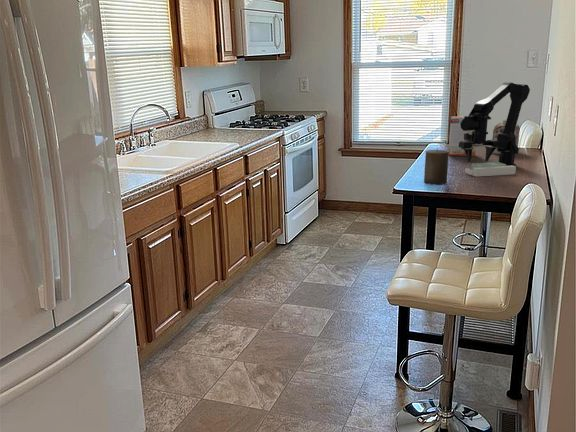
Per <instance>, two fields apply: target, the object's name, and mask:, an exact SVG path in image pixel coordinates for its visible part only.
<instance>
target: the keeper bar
mask: <svg viewBox="0 0 576 432" xmlns="http://www.w3.org/2000/svg"><path fill="white" fill-rule="evenodd" d="M495 166H506V164H503V163H500V162H499V161H495V162H494V161H493V162H475V163H471V168H470V169H471V170H473V168H477V167H495Z"/></svg>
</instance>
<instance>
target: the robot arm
mask: <svg viewBox="0 0 576 432" xmlns="http://www.w3.org/2000/svg"><path fill="white" fill-rule="evenodd" d="M530 89H531V88H530V86H529V85H528V84H524V83H523V84H520V83H519V84H518V83H514V82H508V81H506V82H503V83H502V84H501V85H500V87H498V88H497V89H495V91H493V93H491V94H490V95H489V96H488V97H485V98H484V99H480V100H478V101H477V102H476V103H474V105H473V107H472V109H471V111H470V112H469V114H468V115H463V116H464V119H463V120H462V121H461V124H460V125H461V129H462V130H463V131H469V130H474V131H473V132H472V134H471V135H469V133H465V134H464V140H467V141H460V142H459V147H461V149H463V150H464V151H465V153H466V156H465V157H466V159H467V162H468V163H471V161H472V156H471V155H472V149H471V147H472V146H476V147H483V146H484V147H485V157H484V158H485V160H484V161H485V163H488V161H489V160H490V157H491V156H492V153H493V152H494V150H495V149H498V152H500V154H498V155H499V157H498V162H500V163H503V164H506V166H516V163H515V159H516V156H515V155H517V154H518V153H519V151H520V148H519V146H518V147H517V145H516V144H515V142H516V137H515V134H514V132H515V128H516V124H517V123H518V121H519V120H518V119H519V116H520V113H521V109H522V105H523V104H524V103H525V101H526V100H527V99H528V97H529V94H530V91H531V90H530ZM508 94H509V97H510V101H511V102H510V107H509V110H508V114H507V117H506V119H505V120H506V124H505V128H504V131H503V132H502V133H501V134H498V137H497V140H492V139H487V135H489V132H488V122H489V120H492V117H491V116H490V114H491V113H492V111H493V110H494V108H495V106H496V104H498V103H499V102H500V101H501V100H502V99H504V98H505V97H506V96H507V95H508ZM517 125H518V124H517Z"/></svg>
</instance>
